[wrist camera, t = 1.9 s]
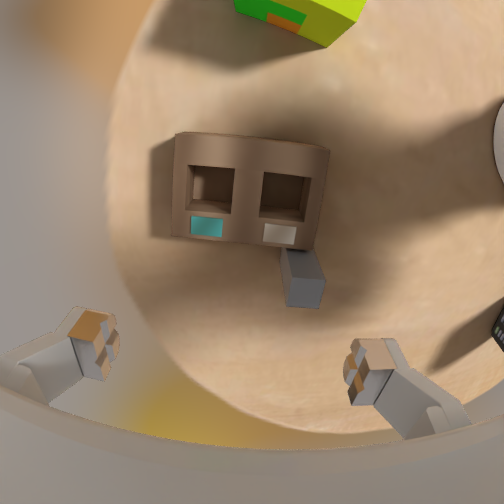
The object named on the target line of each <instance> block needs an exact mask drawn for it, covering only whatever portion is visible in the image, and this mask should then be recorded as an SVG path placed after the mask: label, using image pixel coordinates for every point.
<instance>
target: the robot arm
mask: <svg viewBox="0 0 504 504" xmlns="http://www.w3.org/2000/svg"><path fill="white" fill-rule="evenodd" d="M494 154H495V161H496V165H497V168H498V172H499V174H500V176H501V179H502V181H503V183H504V103H503V104H502V106H501V108H500V110H499V112H498V115H497V118H496V123H495V128H494ZM115 326H116V319H115V316H114V315H113V314H110V313H106V312H101V311H96V310H92V309H87V308H82V307H78V306H76V307H74V308H73V309H72V310H71V311H70V313H69V314H68V315H67V316H66V318H65V319H64V320H63V322H62V323H61V324H60V326H59V327H58V328H57V329H56V331H55V332H54V333H52V332H50V333H47V334H45V335H43V336H41V337H39V338H37V339H35V340H32V341H30V342H28V343H26V344H23V345H21V346H19V347H17V348H15V349H13V350H10V351H8V352H6V353H4V354H2V355H0V504H504V414H503V415H500V416H497V417H494V418H491V419H488V420H485V421H482V422H479V423H475V424H471V422H470V420H469V418H468V416H467V414H466V412H465V410H464V408H463V406H462V404H461V402H460V401H459V400H458V399H457V398H455V397H454V396H452V395H451V394H449V393H448V392H447V391H445V390H444V389H442V388H441V387H440V386H438V385H437V384H435V383H434V382H432V381H431V380H430V379H428V378H427V377H425V376H424V375H423V374H421V373H420V372H418V371H417V370H415V369H414V368H412V369H410V367H409V365H408V363H407V361H406V359H405V357H404V355H403V353H402V351H401V349H400V347H399V345H398V343H397V341H396V340H395V339H394V338H381V339H354V340H353V342H352V344H351V347H350V348H351V351H352V353H350V354H349V355H348V356H347V357H346V359H345V362H344V367H343V377H344V380H345V382H346V383H347V384H348V385H349V386H350V387H349V389H348V395H349V399H350V402H351V406H363V405H374V408H375V409H376V410H377V411H378V412H379V413H380V414H381V415H382V416H383V417H384V418H385V419H386V420H387V421H388V422H389V423H390V424H391V425H392V426H393V428H394V429H395V430H396V431H397V432H398V433H399V434H400V435H401V436H402V437H403V440H402V441H395V442H389V443H382V444H374V445H366V446H356V447H344V448H330V449H303V450H277V449H250V448H236V447H225V446H215V445H206V444H198V443H191V442H185V441H178V440H171V439H167V438H161V437H156V436H151V435H146V434H141V433H137V432H132V431H128V430H124V429H120V428H117V427H113V426H109V425H105V424H102V423H98V422H95V421H92V420H88V419H85V418H82V417H79V416H76V415H72V414H70V413H67V412H64V411H61V410H58V409H56V408H53V407H50V406H49V404H48V403H49V402H51V401H52V400H53V399H55V398H56V397H58V396H59V395H60V394H62V393H63V392H64V391H66V390H67V389H68V388H70V387H71V386H73V385H74V384H75V383H77V382H78V381H79V380H81V379H82V378H83V377H87V378H92V379H96V380H100V381H105V380H106V377H107V375H108V373H109V371H110V369H111V366H110V362H111V361H113V360H115V359H116V356H117V354H118V350H119V335H118V333H117V331H116V330H115V329H114V327H115Z"/></svg>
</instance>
